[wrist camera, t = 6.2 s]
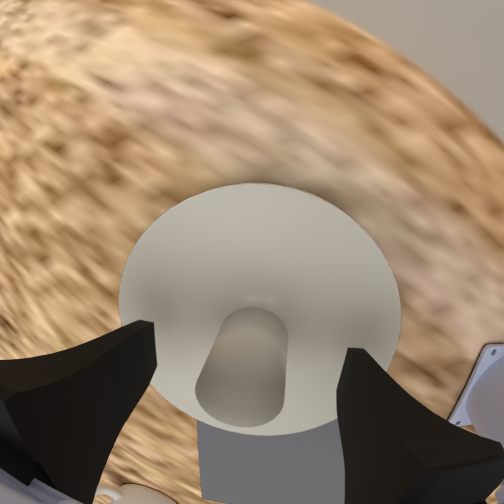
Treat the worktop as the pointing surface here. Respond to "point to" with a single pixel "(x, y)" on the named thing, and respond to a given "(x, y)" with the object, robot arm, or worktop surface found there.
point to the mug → (133, 494)
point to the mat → (272, 466)
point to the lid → (259, 305)
